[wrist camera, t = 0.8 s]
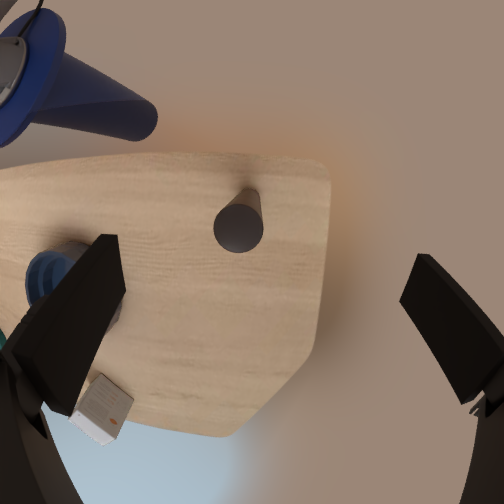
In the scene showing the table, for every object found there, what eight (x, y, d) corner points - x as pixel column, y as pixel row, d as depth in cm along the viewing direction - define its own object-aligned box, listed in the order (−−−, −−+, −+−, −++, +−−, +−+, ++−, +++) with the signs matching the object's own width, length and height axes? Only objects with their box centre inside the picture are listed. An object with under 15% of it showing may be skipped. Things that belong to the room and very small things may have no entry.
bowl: (44, 235, 36) (20, 244, 30) (121, 247, 36) (100, 260, 30) (53, 319, 40) (35, 335, 34) (126, 340, 40) (110, 362, 34)
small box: (90, 383, 43) (66, 419, 33) (101, 372, 42) (75, 409, 32) (121, 409, 45) (103, 447, 34) (135, 400, 43) (116, 440, 33)
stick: (239, 186, 34) (216, 200, 14) (261, 189, 34) (266, 207, 14) (237, 207, 34) (210, 249, 15) (258, 210, 34) (259, 256, 15)
